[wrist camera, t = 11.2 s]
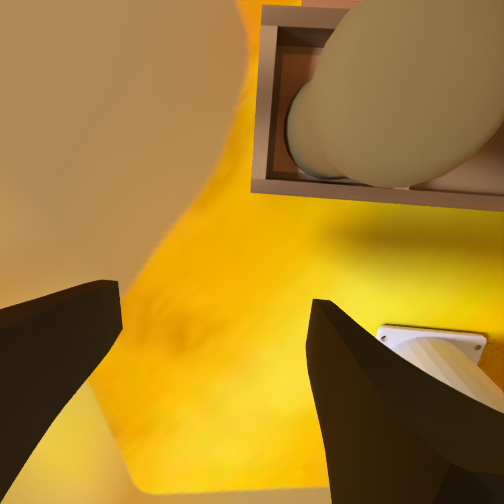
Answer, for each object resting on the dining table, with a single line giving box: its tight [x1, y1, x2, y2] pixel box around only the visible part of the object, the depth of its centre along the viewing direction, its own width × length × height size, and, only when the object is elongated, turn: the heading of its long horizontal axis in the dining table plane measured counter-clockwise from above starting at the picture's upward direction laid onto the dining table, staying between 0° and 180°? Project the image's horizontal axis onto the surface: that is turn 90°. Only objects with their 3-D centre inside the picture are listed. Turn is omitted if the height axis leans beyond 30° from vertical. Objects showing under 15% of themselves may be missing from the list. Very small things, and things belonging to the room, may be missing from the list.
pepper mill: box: [283, 0, 504, 188], centre depth 11 cm, size 6×6×11 cm
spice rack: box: [250, 0, 504, 212], centre depth 15 cm, size 9×25×3 cm, turn 86°
